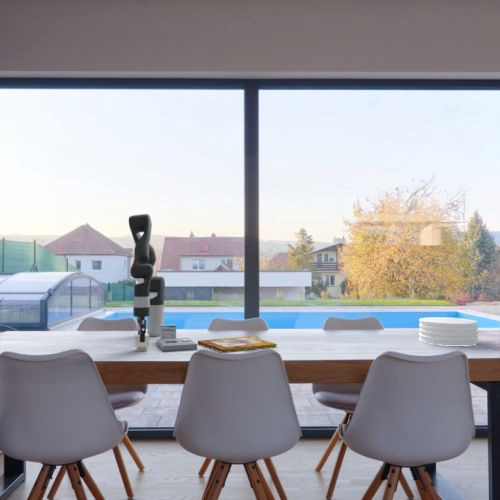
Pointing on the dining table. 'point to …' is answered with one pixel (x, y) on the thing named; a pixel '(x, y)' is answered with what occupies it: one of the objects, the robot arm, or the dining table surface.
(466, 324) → the plate stack
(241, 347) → the picture frame
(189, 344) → the socket panel
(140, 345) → the plug
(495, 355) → the dining table surface
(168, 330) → the medicine box
